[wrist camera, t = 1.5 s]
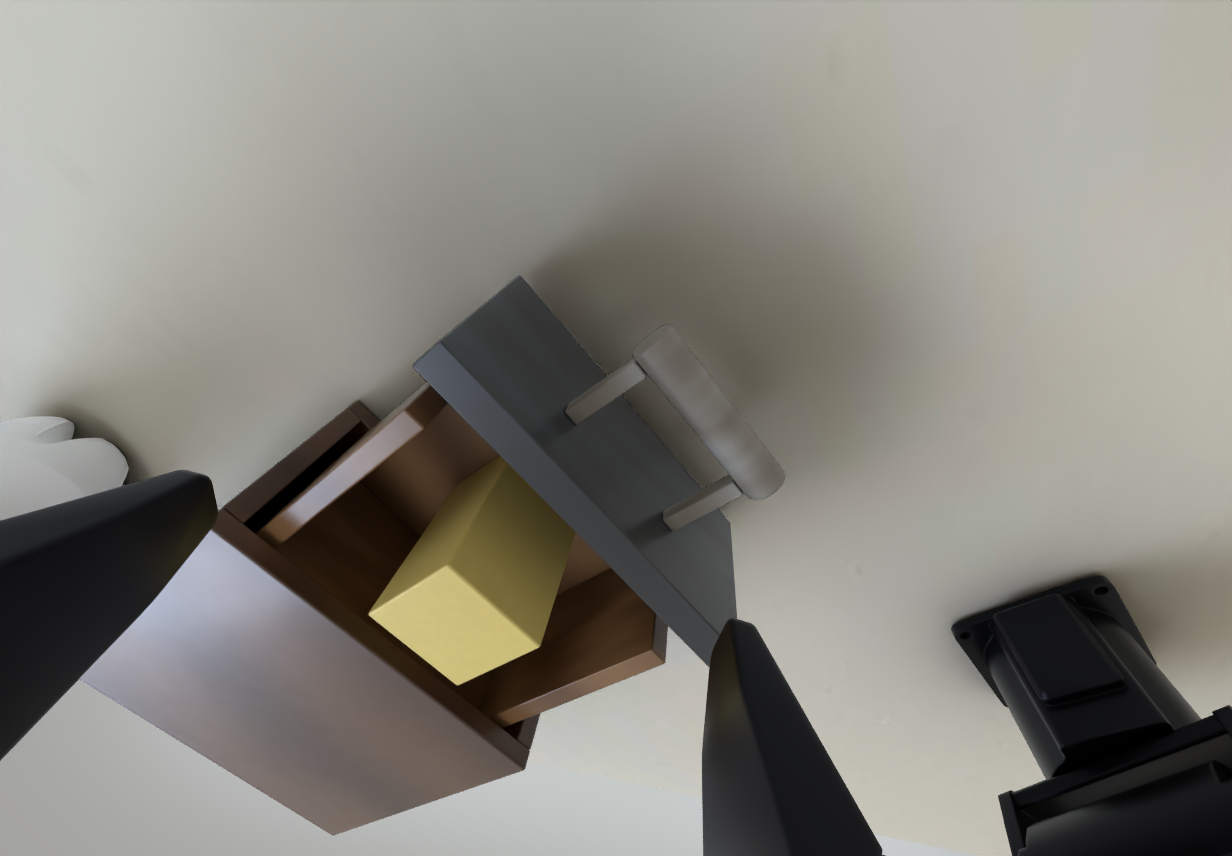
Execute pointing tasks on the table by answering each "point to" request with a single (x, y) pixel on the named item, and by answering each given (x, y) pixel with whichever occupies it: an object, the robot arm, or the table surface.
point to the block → (479, 576)
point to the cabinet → (299, 673)
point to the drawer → (546, 496)
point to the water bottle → (52, 465)
